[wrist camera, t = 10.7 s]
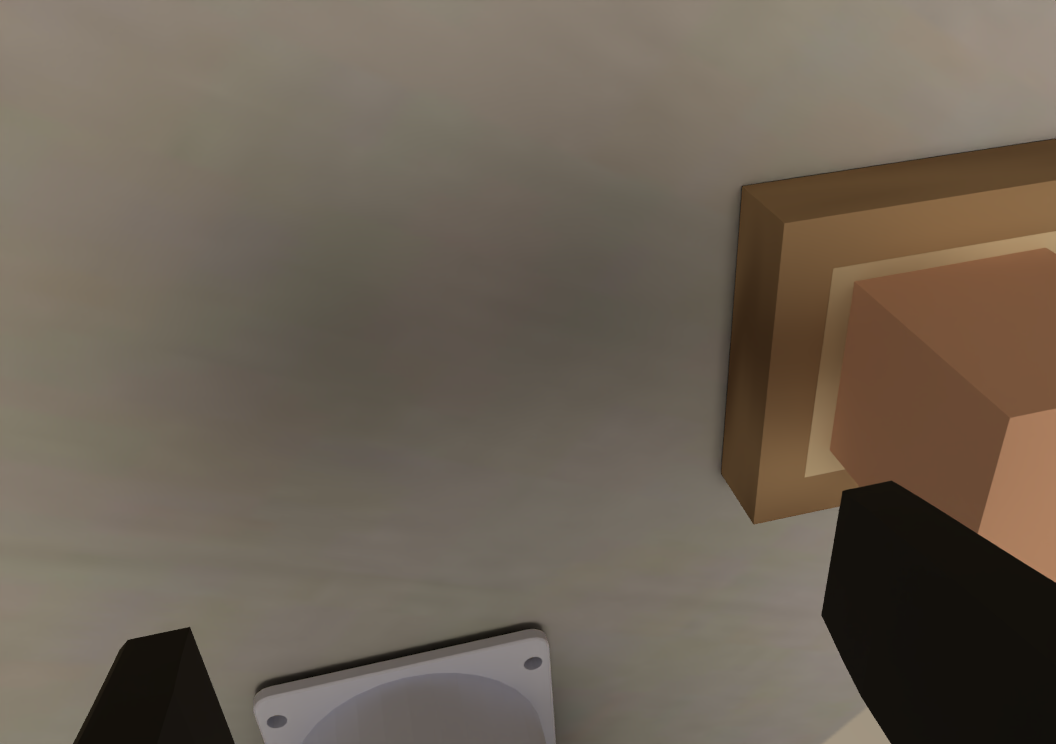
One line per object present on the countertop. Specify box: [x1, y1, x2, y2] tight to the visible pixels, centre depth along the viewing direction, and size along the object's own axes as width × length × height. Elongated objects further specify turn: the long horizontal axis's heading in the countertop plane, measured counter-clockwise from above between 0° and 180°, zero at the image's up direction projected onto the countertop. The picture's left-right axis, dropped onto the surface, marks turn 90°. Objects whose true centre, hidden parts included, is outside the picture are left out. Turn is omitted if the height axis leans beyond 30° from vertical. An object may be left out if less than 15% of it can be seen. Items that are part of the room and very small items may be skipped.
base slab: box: [721, 139, 1056, 524], centre depth 22 cm, size 8×8×2 cm
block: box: [830, 248, 1056, 582], centre depth 19 cm, size 4×4×5 cm
